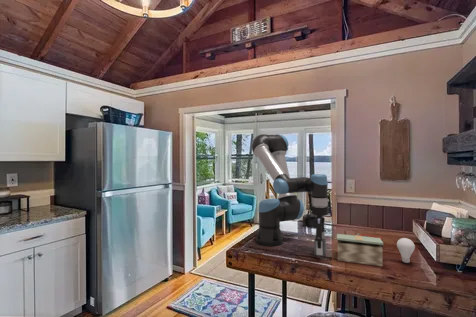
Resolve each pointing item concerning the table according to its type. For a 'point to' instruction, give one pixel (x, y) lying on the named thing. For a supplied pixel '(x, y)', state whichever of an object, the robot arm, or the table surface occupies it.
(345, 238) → the lid
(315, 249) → the block
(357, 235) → the tape dispenser
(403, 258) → the light bulb
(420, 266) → the table surface
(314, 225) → the camera
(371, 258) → the box
